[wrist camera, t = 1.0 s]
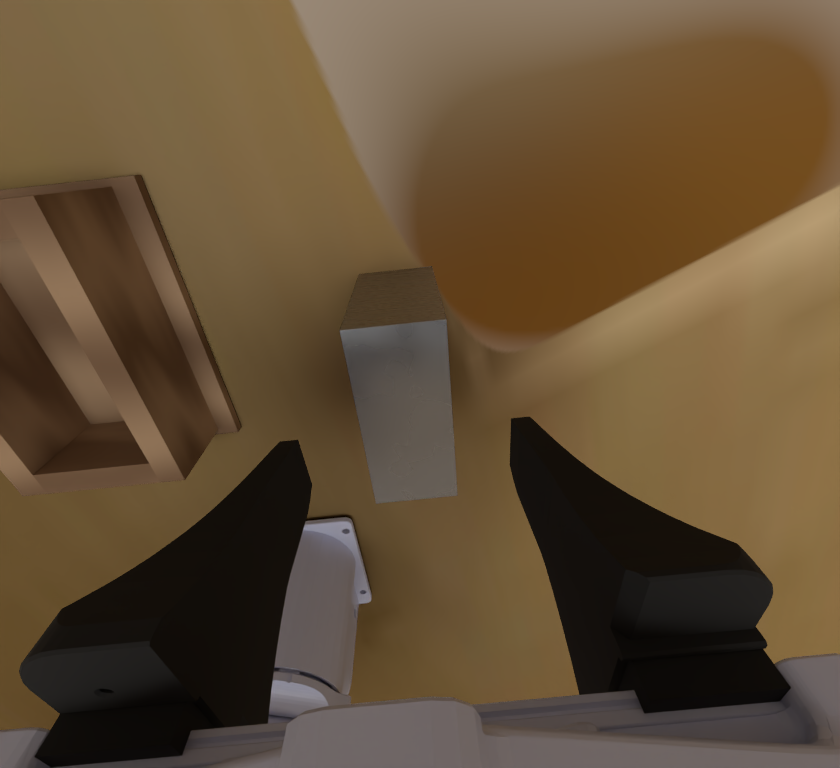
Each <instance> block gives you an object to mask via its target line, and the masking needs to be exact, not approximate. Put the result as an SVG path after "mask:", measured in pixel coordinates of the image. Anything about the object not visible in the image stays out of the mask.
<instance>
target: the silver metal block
mask: <svg viewBox="0 0 840 768" xmlns="http://www.w3.org/2000/svg"><path fill="white" fill-rule="evenodd" d="M340 335H341V340H342V344H343V349H344V354H345V359H346V363H347V368H348V373H349V377H350V382H351V387H352V392H353V396H354V401H355V406H356V411H357V415H358V420H359V425H360V430H361V434H362V439H363V444H364V449H365V453H366V458H367V463H368V468H369V472H370V477H371V482H372V487H373V491H374V496H375V501H376V504H377V503H387V502H397V501H407V500H417V499H427V498H437V497H447V496H457V480H456V464H455V448H454V432H453V416H452V400H451V384H450V368H449V353H448V337H447V321H446V316H445V312H444V309H443V305H442V302H441V298H440V294H439V291H438V287H437V284H436V280H435V276H434V273H433V269H432V266H430V267H422V268H414V269H404V270H395V271H385V272H376V273H366V274H359V275H358V278H357V281H356V284H355V287H354V290H353V293H352V296H351V299H350V302H349V305H348V307H347V310H346V313H345V316H344V319H343V322H342V325H341V328H340Z"/></svg>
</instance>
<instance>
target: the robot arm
mask: <svg viewBox="0 0 840 768" xmlns="http://www.w3.org/2000/svg"><path fill="white" fill-rule="evenodd" d="M510 467H511V471H512V475H513V479H514V483H515V487H516V490H517V493H518V496H519V499H520V501H521V504H522V506H523V509H524V511H525V514H526V516H527V519H528V521H529V524H530V526H531V529H532V531H533V534H534V536H535V539H536V541H537V544H538V546H539V548H540V551H541V554H542V557H543V560H544V562H545V566H546V569H547V573H548V576H549V579H550V583H551V586H552V590H553V593H554V597H555V601H556V604H557V608H558V611H559V615H560V619H561V622H562V626H563V630H564V634H565V638H566V642H567V646H568V649H569V653H570V657H571V661H572V665H573V669H574V673H575V678H576V682H577V686H578V690H579V694H580V695H574V696H563V697H552V698H541V699H530V700H519V701H509V702H498V703H487V704H476V705H470V704H469V703H467V702H464V701H461V700H458V699H456V698H453V697H423V698H412V699H401V700H390V701H380V702H369V703H358V704H351V696H349V695H348V694H349V691H350V687H351V682H352V672H353V661H354V650H355V639H356V629H357V618H358V607H359V604H363V603H368V602H370V601H371V598H372V594H371V590H370V587H369V583H368V579H367V575H366V571H365V567H364V564H363V560H362V556H361V552H360V548H359V545H358V541H357V537H356V533H355V529H354V526H353V522H352V520H351V519H350V518H347V517H341V518H331V519H321V520H311V521H306V518H307V514H308V509H309V503H310V496H311V488H312V483H311V480H310V476H309V473H308V470H307V467H306V464H305V461H304V457H303V454H302V451H301V448H300V445H299V442H298V440H292V441H282V442H279V443H278V444H277V445H276V446H275V447H274V448H273V449H272V450H271V451H270V453H269V454H268V455H267V456H266V457H265V458H264V459H263V460H262V461H261V462H260V463H259V464H258V465H257V466H256V468H255V469H254V470H253V471H252V472H251V473H250V474H249V475H248V476H247V477H246V478H245V479H244V480H243V481H242V482H241V483H240V484H239V485H238V486H237V487H236V488H235V489H234V490H233V491H232V492H231V493H230V494H229V495H228V496H227V497H226V498H224V499H223V500H222V501H221V502H220V503H219V504H218V505H217V506H216V507H215V508H214V509H213V510H212V511H210V512H209V513H208V514H207V515H206V516H205V517H203V518H202V519H201V520H200V521H199V522H197V523H196V524H195V525H194V526H192V527H191V528H190V529H189V530H187V531H186V532H185V533H183V534H182V535H181V536H179V537H178V538H177V539H175V540H174V541H172V542H171V543H170V544H168V545H167V546H165V547H164V548H163V549H161V550H160V551H159V552H157V553H156V554H154V555H153V556H151V557H150V558H148V559H147V560H145V561H144V562H142V563H141V564H139V565H138V566H136V567H135V568H133V569H131V570H130V571H128V572H126V573H125V574H123V575H122V576H120V577H118V578H117V579H115V580H113V581H112V582H110V583H108V584H106V585H105V586H103V587H101V588H99V589H97V590H96V591H94V592H92V593H90V594H88V595H87V596H85V597H83V598H81V599H79V600H78V601H76V602H74V603H72V604H70V605H68V606H66V607H64V608H63V609H61V611H60V612H59V613H58V615H57V616H56V617H55V619H54V620H53V621H52V623H51V624H50V625H49V627H48V628H47V630H46V631H45V632H44V634H43V635H42V636H41V638H40V639H39V640H38V642H37V643H36V644H35V646H34V647H33V648H32V650H31V651H30V652H29V654H28V655H27V657H26V658H25V659H24V661H23V662H22V663H21V666H20V670H19V673H20V676H21V679H22V681H23V683H24V684H25V685H26V686H27V687H28V688H29V689H30V690H31V691H32V692H33V693H34V694H36V695H37V696H38V697H40V698H41V699H42V700H43V701H45V702H46V703H47V704H49V705H50V706H51V707H52V708H54V709H55V710H56V711H57V712H59V713H60V715H59V717H58V719H57V720H56V722H55V724H54V725H53V727H52V729H51V730H48V729H43V728H21V729H10V730H0V768H840V655H839V654H836V653H834V654H823V655H813V656H802V657H792V658H787V659H783V660H781V661H779V662H777V663H775V664H773V662H772V661H771V659H770V658H769V657H768V655H767V654H766V653H765V651H764V650H763V649H764V648H766V647H767V643H766V640H765V639H764V637H763V636H762V635H761V633H760V632H759V631H758V629H757V628H756V627H755V626H756V625H757V623H758V621H759V620H760V618H761V617H762V615H763V613H764V612H765V610H766V609H767V607H768V605H769V603H770V601H771V598H772V595H773V586H772V583H771V582H770V581H769V579H768V578H767V577H766V575H765V574H764V573H763V572H762V571H761V569H760V568H759V567H758V566H757V565H756V563H755V562H754V561H753V560H752V559H751V558H750V557H749V556H748V554H747V553H746V552H745V551H744V550H743V549H742V548H741V547H740V546H739V545H738V544H737V543H734V542H732V541H729V540H726V539H724V538H721V537H719V536H716V535H714V534H711V533H708V532H706V531H703V530H701V529H698V528H696V527H693V526H691V525H689V524H687V523H684V522H682V521H680V520H678V519H676V518H673V517H671V516H669V515H667V514H665V513H663V512H661V511H659V510H657V509H655V508H653V507H651V506H649V505H647V504H645V503H644V502H642V501H640V500H638V499H636V498H634V497H633V496H631V495H629V494H627V493H626V492H624V491H622V490H621V489H619V488H618V487H616V486H614V485H613V484H611V483H610V482H608V481H607V480H605V479H604V478H602V477H601V476H599V475H598V474H596V473H595V472H593V471H592V470H591V469H589V468H588V467H587V466H585V465H584V464H583V463H581V462H580V461H579V460H578V459H576V458H575V457H574V456H573V455H572V454H570V453H569V452H568V451H567V450H566V449H564V448H563V447H562V446H561V445H560V444H559V443H558V442H556V441H555V440H554V439H553V438H552V437H551V436H550V435H549V434H548V433H547V432H546V431H544V430H543V429H542V428H541V427H540V426H539V425H538V424H537V423H536V422H535V421H534V420H533V419H532V418H530V417H522V418H512V419H511V443H510Z"/></svg>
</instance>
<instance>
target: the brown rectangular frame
mask: <svg viewBox="0 0 840 768" xmlns="http://www.w3.org/2000/svg"><path fill="white" fill-rule="evenodd" d="M240 428H241V425H240V422H239V420H238V417H237V415H236V412H235V410H234V407H233V405H232V402H231V400H230V397H229V395H228V392H227V390H226V387H225V385H224V382H223V380H222V377H221V375H220V372H219V370H218V367H217V365H216V362H215V360H214V357H213V355H212V352H211V350H210V347H209V345H208V342H207V340H206V337H205V335H204V332H203V330H202V327H201V325H200V322H199V320H198V317H197V315H196V312H195V310H194V307H193V305H192V302H191V300H190V297H189V295H188V292H187V290H186V287H185V285H184V282H183V280H182V277H181V275H180V272H179V270H178V267H177V265H176V262H175V260H174V257H173V255H172V252H171V250H170V247H169V245H168V242H167V240H166V237H165V235H164V232H163V230H162V227H161V225H160V222H159V219H158V217H157V214H156V212H155V209H154V207H153V204H152V202H151V199H150V197H149V194H148V192H147V189H146V187H145V184H144V182H143V179H142V177H141V175H135V176H126V177H116V178H107V179H98V180H89V181H79V182H70V183H61V184H52V185H42V186H33V187H24V188H15V189H5V190H0V470H1V471H2V472H3V473H4V475H5V476H6V477H7V478H8V479H9V481H10V482H11V483H12V484H13V485H14V486H15V488H16V489H17V490H18V491H19V492H20V494H21V495H22V496H30V495H40V494H50V493H60V492H70V491H80V490H90V489H100V488H110V487H120V486H130V485H140V484H150V483H160V482H170V481H180V480H185V479H186V478H187V476H188V475H189V473H190V472H191V470H192V469H193V467H194V465H195V464H196V462H197V461H198V459H199V458H200V456H201V455H202V453H203V452H204V450H205V449H206V447H207V446H208V444H209V443H210V441H211V440H212V438H213V437H214V435H215V434H223V433H233V432H239V430H240Z"/></svg>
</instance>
